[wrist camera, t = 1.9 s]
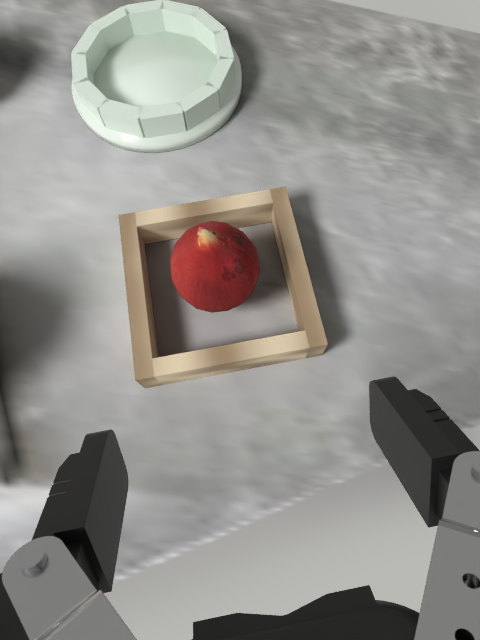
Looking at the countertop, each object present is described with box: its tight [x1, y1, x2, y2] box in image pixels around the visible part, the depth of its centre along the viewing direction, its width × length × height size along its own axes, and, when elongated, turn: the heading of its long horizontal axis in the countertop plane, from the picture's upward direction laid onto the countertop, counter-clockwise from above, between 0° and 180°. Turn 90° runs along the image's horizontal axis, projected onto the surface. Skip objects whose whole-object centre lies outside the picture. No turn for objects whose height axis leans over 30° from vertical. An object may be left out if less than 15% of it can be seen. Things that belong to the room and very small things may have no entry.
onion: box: [170, 221, 260, 312], centre depth 28 cm, size 6×6×8 cm
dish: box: [71, 0, 242, 153], centre depth 38 cm, size 15×15×3 cm
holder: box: [119, 187, 328, 388], centre depth 31 cm, size 12×12×2 cm
